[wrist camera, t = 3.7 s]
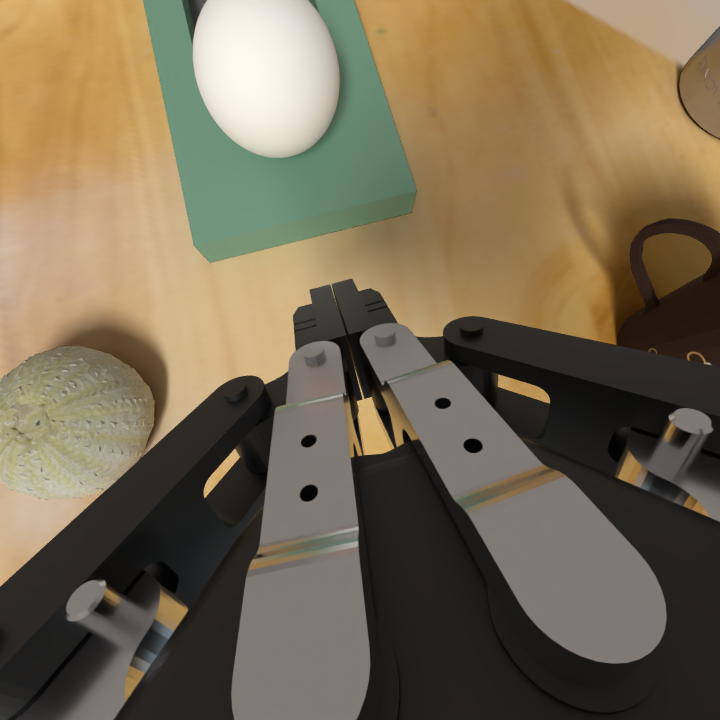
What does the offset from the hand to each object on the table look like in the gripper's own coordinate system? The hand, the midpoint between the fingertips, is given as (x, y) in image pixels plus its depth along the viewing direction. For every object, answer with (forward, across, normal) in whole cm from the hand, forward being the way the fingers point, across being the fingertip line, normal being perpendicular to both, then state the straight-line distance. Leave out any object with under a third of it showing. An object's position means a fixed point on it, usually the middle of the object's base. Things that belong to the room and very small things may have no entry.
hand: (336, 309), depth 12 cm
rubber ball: (+15, 0, -8) cm, 17 cm away
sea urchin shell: (+9, +17, +8) cm, 21 cm away
